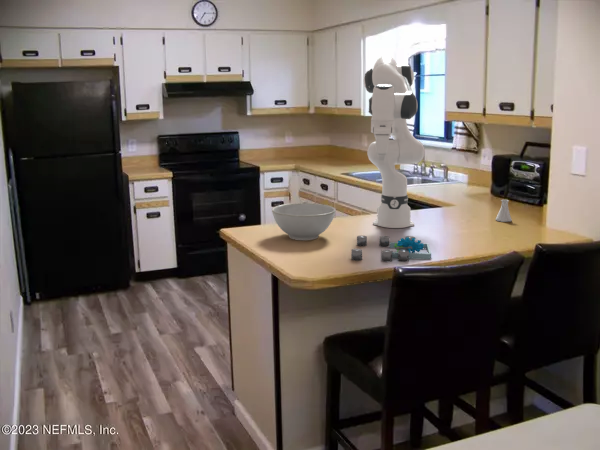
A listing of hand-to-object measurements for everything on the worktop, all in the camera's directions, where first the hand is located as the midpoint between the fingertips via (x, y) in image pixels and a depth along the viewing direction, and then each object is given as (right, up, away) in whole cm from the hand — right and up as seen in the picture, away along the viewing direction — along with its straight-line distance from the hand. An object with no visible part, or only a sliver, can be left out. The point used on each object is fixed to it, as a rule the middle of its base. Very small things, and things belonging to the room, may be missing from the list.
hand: (381, 164), depth 237 cm
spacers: (+1, -34, +1) cm, 34 cm away
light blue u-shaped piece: (+11, -34, 0) cm, 36 cm away
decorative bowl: (-30, -29, +25) cm, 48 cm away
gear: (+10, -35, -2) cm, 36 cm away
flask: (+65, -21, +57) cm, 89 cm away
